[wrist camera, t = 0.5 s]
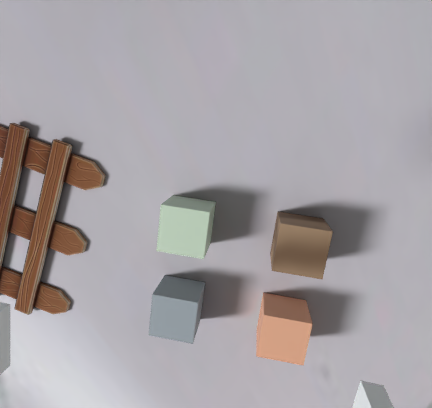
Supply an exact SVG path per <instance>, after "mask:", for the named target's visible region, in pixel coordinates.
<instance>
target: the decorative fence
mask: <svg viewBox="0 0 432 408" xmlns="http://www.w3.org/2000/svg"><path fill="white" fill-rule="evenodd" d="M29 131H30V130H29V129H28V128H26V127H23V126H21V125H18V124H15V123H10V125H9V129H8V128H5V127H2V126H0V157H1V158H3V162H2V167H1V172H0V293H2V294H4V295H7V296H9V297H12V298H14V299H17V300H16V304H15V310H18V311H20V312H23V313H25V314H28V315H29V314H31V313H32V311H33V307H36V308H39V309H41V310H44V311H46V312H49V313H51V314H58V313H64V312H67V311H68V310H69V307H70V304H71V301H70V300H69V299H68V297H67V296H66V295H65V294H64V293H63V291H62V290H60V289H58V288H55V287H53V286H51V285H48V284H46V283H43V282H41V281H40V278H41V274H42V270H43V266H44V262H45V257H46V253H47V249H48V248H51V249H53V250H56V251H58V252H61V253H63V254H66V255H74V254H79V253H83V252H84V251H85V249H86V245H87V241H86V239H85V238H84V237H83V236H82V235H81V233H80V232H79V231H78V230H77V229H75V228H73V227H70V226H68V225H65V224H63V223H60V222H58V221H55V216H56V212H57V208H58V204H59V200H60V196H61V192H62V188H63V183H64V182H65V183H68V184H70V185H73V186H76V187H78V188H81V189H83V190H89V189H94V188H98V187H102V186H103V184H104V180H105V174H104V173H103V172H102V170H101V169H100V168H99V167H98V165H97V164H96V163H95V162H94V161H91V160H89V159H86V158H84V157H81V156H78V155H76V154H73V153H71V151H72V145H70V144H68V143H65V142H63V141H60V140H57V139H54V140H53V141H52V145H50V144H47V143H44V142H42V141H39V140H36V139H34V138H31V137H29ZM22 166H24V167H26V168H29V169H32V170H34V171H37V172H39V173H42V174H45V176H44V181H43V185H42V190H41V194H40V198H39V203H38V207H37V212H36V213H35V212H32V211H30V210H27V209H25V208H22V207H19V206H17V205H14V204H15V199H16V194H17V189H18V184H19V179H20V175H21V170H22ZM8 232H11V233H13V234H16V235H18V236H21V237H23V238H26V239H28V240H30V242H29V247H28V251H27V256H26V260H25V264H24V269H23V273H22V274H21V273H18V272H16V271H13V270H11V269H8V268H6V267H3V266H2V261H3V256H4V252H5V247H6V242H7V237H8Z"/></svg>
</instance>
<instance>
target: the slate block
mask: <svg viewBox="0 0 432 408" xmlns="http://www.w3.org/2000/svg"><path fill="white" fill-rule="evenodd" d="M204 288H205V282H201V281H195V280H189V279H184V278H178V277H172V276H167V275H165V276H164V277H163V279H162V280H161V282H160V284H159V285H158V287H157V288H156V290H155V291H154V293H153V294H152V305H151V316H150V326H149V335H150V336H155V337H161V338H166V339H171V340H176V341H181V342H186V343H191V344H193V342H194V338H195V335H196V332H197V329H198V325H199V322H200V318H201V311H202V303H203V296H204Z"/></svg>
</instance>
